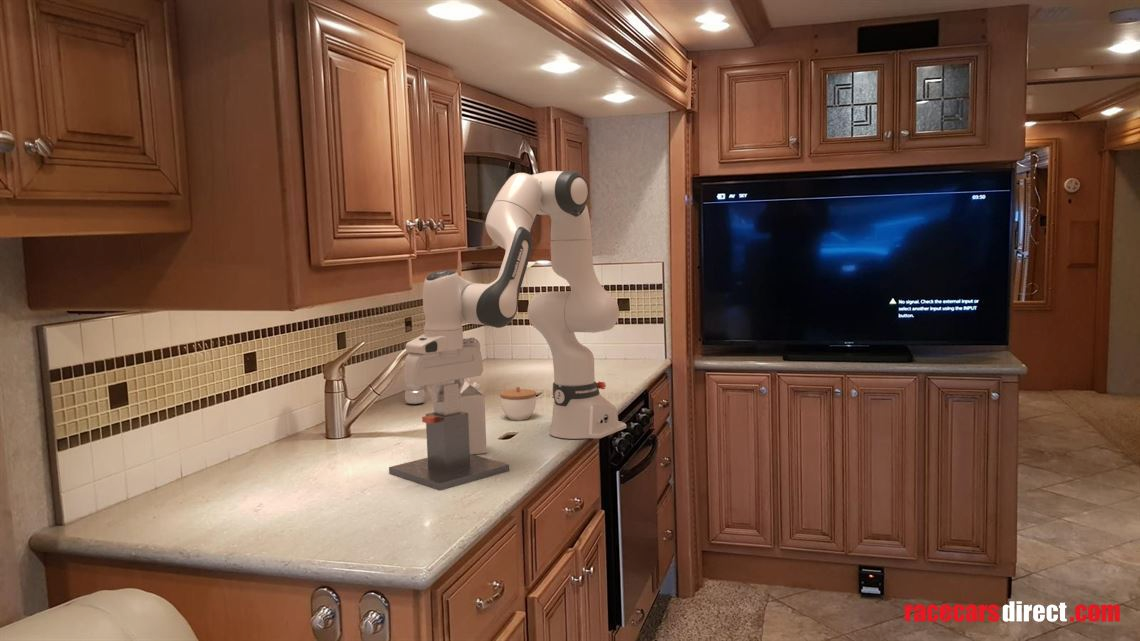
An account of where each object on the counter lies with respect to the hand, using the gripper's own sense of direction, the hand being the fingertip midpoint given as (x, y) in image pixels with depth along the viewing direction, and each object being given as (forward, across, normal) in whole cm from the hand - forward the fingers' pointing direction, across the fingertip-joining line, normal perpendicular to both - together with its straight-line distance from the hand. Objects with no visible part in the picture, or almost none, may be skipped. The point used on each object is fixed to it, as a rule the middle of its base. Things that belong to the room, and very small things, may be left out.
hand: (446, 400), depth 203 cm
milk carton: (+17, -15, -11) cm, 25 cm away
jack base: (+17, 0, 0) cm, 17 cm away
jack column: (+14, 0, 0) cm, 14 cm away
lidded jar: (+17, -49, -31) cm, 61 cm away
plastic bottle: (+17, -41, -73) cm, 86 cm away
